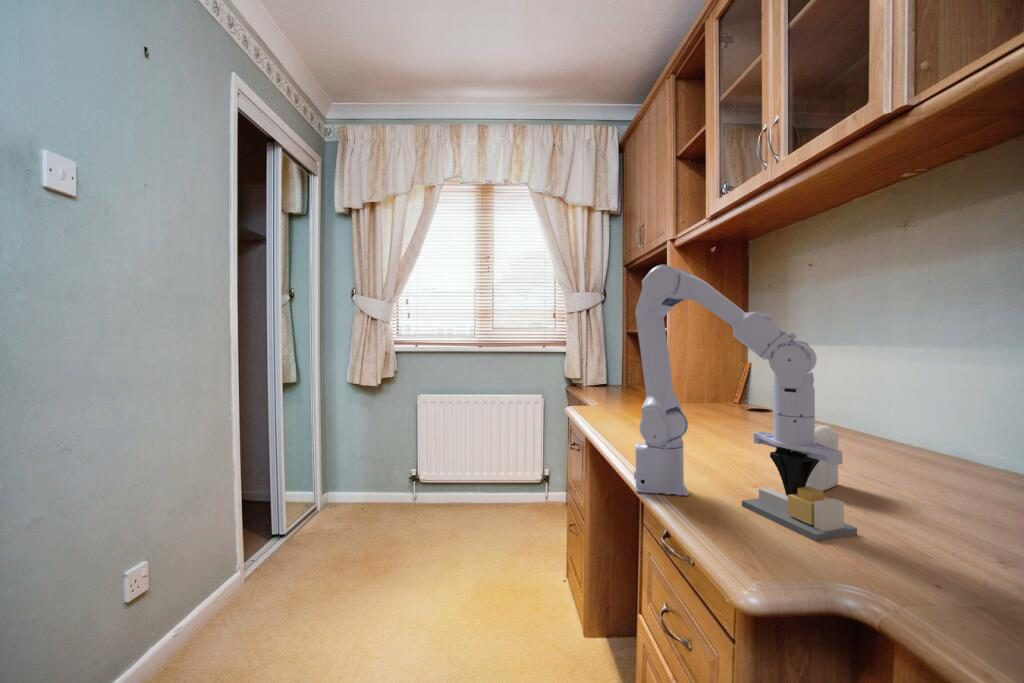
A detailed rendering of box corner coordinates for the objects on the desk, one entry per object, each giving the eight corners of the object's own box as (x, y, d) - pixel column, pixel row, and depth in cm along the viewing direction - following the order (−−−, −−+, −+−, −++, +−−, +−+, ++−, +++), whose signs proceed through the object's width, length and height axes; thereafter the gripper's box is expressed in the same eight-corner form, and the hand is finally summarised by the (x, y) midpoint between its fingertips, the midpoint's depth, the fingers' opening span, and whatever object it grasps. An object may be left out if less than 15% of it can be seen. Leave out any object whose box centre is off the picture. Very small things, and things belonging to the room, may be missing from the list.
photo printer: (817, 479, 91) (817, 420, 91) (841, 484, 87) (841, 424, 87) (794, 488, 85) (794, 426, 85) (819, 495, 81) (819, 430, 81)
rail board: (741, 506, 77) (741, 478, 77) (777, 501, 79) (777, 474, 79) (816, 541, 63) (816, 507, 63) (857, 534, 65) (856, 501, 65)
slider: (787, 514, 69) (787, 487, 69) (810, 511, 71) (809, 484, 71) (810, 524, 66) (810, 495, 66) (833, 521, 67) (833, 492, 67)
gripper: (857, 420, 65) (858, 510, 65) (775, 406, 79) (775, 480, 79) (821, 423, 63) (822, 515, 63) (744, 408, 77) (744, 484, 77)
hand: (794, 496), depth 71 cm, fingers closed
